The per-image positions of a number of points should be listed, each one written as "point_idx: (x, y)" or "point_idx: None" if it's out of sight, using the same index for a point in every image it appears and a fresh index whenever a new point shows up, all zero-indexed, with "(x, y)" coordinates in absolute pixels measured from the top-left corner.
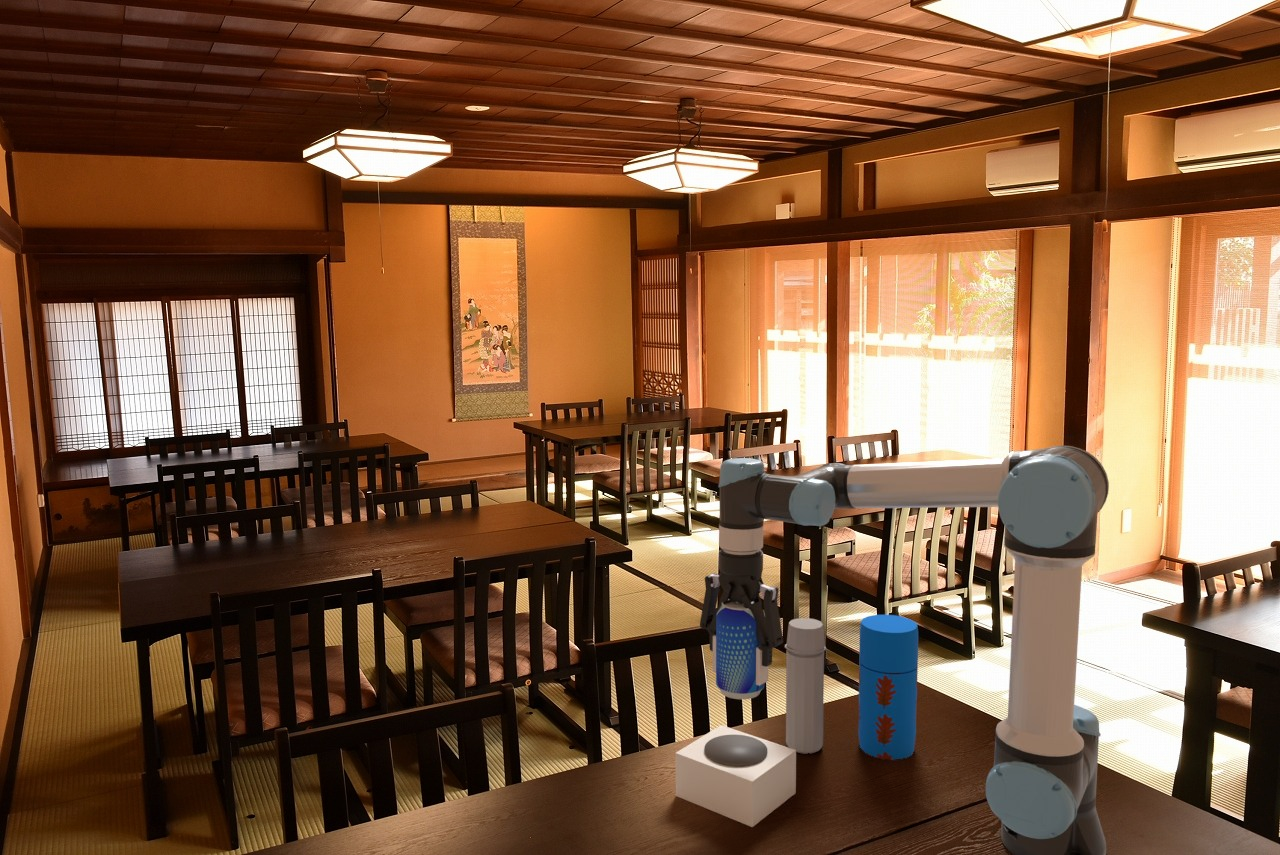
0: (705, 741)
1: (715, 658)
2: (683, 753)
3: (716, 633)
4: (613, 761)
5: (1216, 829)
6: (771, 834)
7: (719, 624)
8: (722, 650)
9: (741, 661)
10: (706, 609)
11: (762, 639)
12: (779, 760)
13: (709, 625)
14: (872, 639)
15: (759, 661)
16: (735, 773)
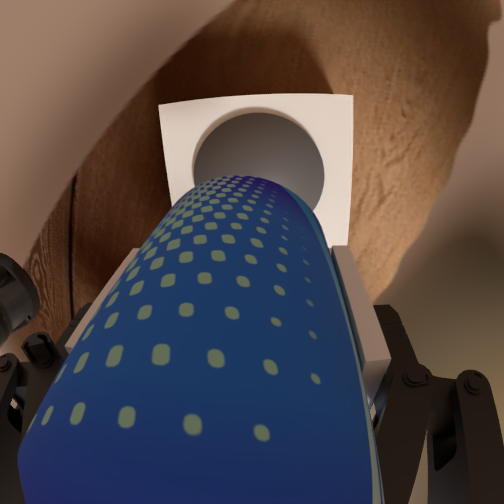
0: (334, 173)
1: (346, 278)
2: (338, 102)
3: (340, 364)
4: (463, 131)
5: (5, 351)
6: (153, 107)
7: (274, 442)
8: (240, 258)
9: (134, 257)
10: (481, 491)
11: (34, 384)
12: (174, 202)
13: (434, 407)
14: None
15: (93, 304)
16: (201, 105)
